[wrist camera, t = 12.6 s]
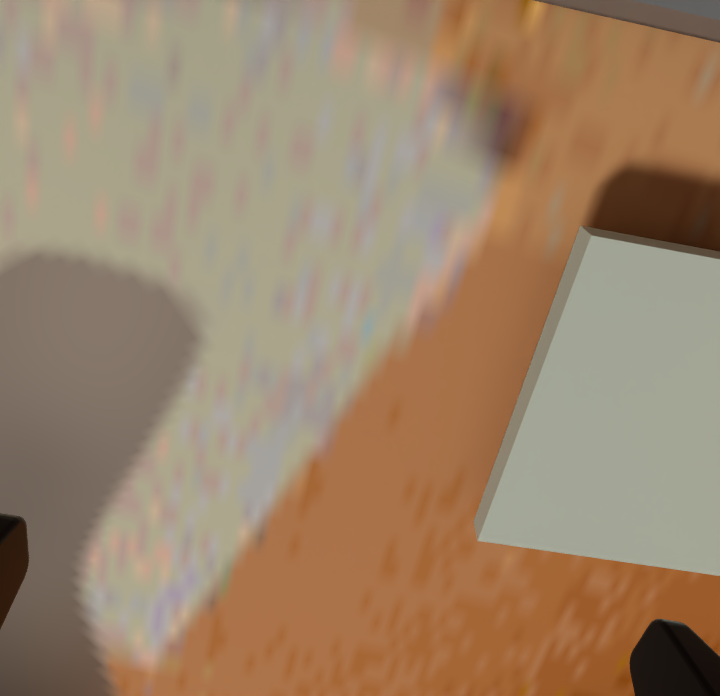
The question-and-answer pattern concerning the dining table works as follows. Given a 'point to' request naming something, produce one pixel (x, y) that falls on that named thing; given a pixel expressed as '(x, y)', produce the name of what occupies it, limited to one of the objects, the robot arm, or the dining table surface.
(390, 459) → the dining table surface
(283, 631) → the dining table surface
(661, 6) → the tub
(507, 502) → the lid
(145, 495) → the dining table surface
